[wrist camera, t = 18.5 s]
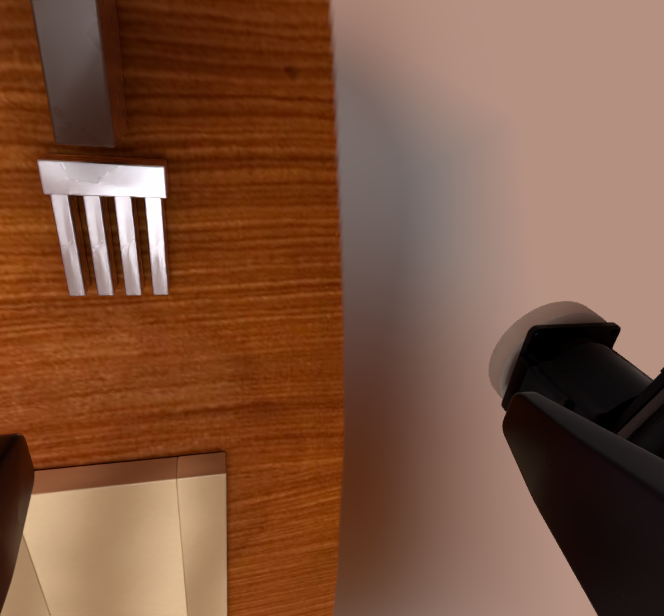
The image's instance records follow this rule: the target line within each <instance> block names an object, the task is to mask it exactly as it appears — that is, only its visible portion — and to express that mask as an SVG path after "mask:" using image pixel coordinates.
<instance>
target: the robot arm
mask: <svg viewBox="0 0 664 616" xmlns="http://www.w3.org/2000/svg"><path fill="white" fill-rule="evenodd" d="M620 330H621V327H620V326H618V325H617V324H616V323H614V322H603V323H576V324H549V325H535V326H533V327H531V328H530V329H529V330H528V332H527V335H526V337H525V340H524V343H523V345H522V348H521V351H520V354H519V356H518V359H517V362H516V365H515V367H514V370H513V373H512V375H511V378H510V381H509V384H508V386H507V389H506V392H505V395H504V397H503V400H502V403H501V406H502V408H503V409H504V410H505V411H506V415H505V417H504V420H503V425H502V427H503V433H504V436H505V438H506V440H507V442H508V445H509V447H510V449H511V451H512V454H513V456H514V458H515V460H516V463H517V465H518V467H519V469H520V471H521V474H522V476H523V478H524V481H525V483H526V485H527V487H528V489H529V491H530V494H531V496H532V498H533V500H534V502H535V504H536V506H537V508H538V509H539V511H540V513H541V515H542V517H543V519H544V520H545V522H546V524H547V526H548V527H549V529H550V531H551V533H552V535H553V536H554V538H555V540H556V542H557V544H558V545H559V547H560V549H561V550H562V552H563V554H564V556H565V558H566V559H567V561H568V563H569V565H570V567H571V569H572V570H573V572H574V574H575V576H576V577H577V579H578V581H579V583H580V585H581V586H582V588H583V590H584V592H585V593H586V595H587V597H588V599H589V601H590V602H591V604H592V606H593V608H594V609H595V611H596V613H597V615H598V616H664V368H663V369H662V370H661V373H660V375H658V376H657V377H656V378H655V379H654V380H653V379H651V378H650V377H648V376H647V375H646V374H645V373H643V372H642V371H641V370H639V369H638V368H637V367H636V366H634V365H633V364H632V363H630V362H629V361H628V360H626V359H625V358H624V357H623V356H621V355H620V354H619V353H617V352H616V351H615V350H613V349H612V348H613V346H614V344H615V342H616V340H617V337H618V335H619V333H620ZM34 478H35V472H34V467H33V463H32V460H31V456H30V453H29V450H28V446H27V443H26V440H25V438H24V436H23V435H22V434H19V433H13V434H1V435H0V615H1V612H2V609H3V606H4V603H5V600H6V597H7V594H8V591H9V588H10V585H11V581H12V578H13V574H14V570H15V566H16V562H17V557H18V553H19V548H20V544H21V539H22V535H23V530H24V526H25V521H26V517H27V512H28V508H29V503H30V499H31V494H32V490H33V485H34Z"/></svg>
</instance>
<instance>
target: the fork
mask: <svg viewBox="0 0 664 616" xmlns="http://www.w3.org/2000/svg"><path fill="white" fill-rule="evenodd" d="M30 3H31V9H32V14H33V20H34V26H35V31H36V37H37V43H38V48H39V54H40V59H41V65H42V71H43V76H44V82H45V88H46V93H47V99H48V105H49V110H50V116H51V122H52V127H53V133H54V139H55V142H56V143H57V144H61V145H78V146H95V147H112V148H113V147H115V146H116V145H117V144H118V142H119V141H120V140H121V139H122V137H123V136H124V135H125V134H126V132H127V131H128V129H129V126H128V116H127V107H126V97H125V87H124V77H123V67H122V58H121V48H120V38H119V28H118V18H117V8H116V0H30ZM37 166H38V171H39V176H40V181H41V186H42V191H43V194H45V195H50V199H51V204H52V209H53V214H54V219H55V225H56V230H57V235H58V240H59V245H60V251H61V256H62V261H63V266H64V271H65V276H66V282H67V287H68V292H69V295H70V296H86V294H87V292H88V290H89V288H90V285H91V282H90V276H89V269H88V263H87V257H86V251H85V245H84V239H83V233H82V227H81V221H80V215H79V209H78V203H77V197H76V196H82V198H83V204H84V210H85V217H86V223H87V229H88V235H89V242H90V248H91V254H92V261H93V267H94V273H95V280H96V286H97V292H98V295H99V296H113V295H114V294H115V291H116V288H117V286H118V279H117V272H116V264H115V257H114V249H113V242H112V234H111V227H110V219H109V212H108V204H107V197H114V204H115V212H116V220H117V228H118V236H119V244H120V252H121V260H122V268H123V276H124V284H125V292H126V295H127V296H133V295H142V293H143V289H144V285H145V282H144V272H143V263H142V253H141V243H140V233H139V223H138V213H137V204H136V198H144V202H145V213H146V224H147V235H148V245H149V256H150V267H151V278H152V288H153V295H169V290H170V271H169V257H168V244H167V230H166V216H165V202H164V199H167V198H168V194H169V179H168V164H167V160H164V159H145V158H127V157H108V156H90V155H71V154H53V153H45V154H43V155H42V156H41V157H39V158H38V159H37Z"/></svg>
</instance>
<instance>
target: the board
mask: <svg viewBox="0 0 664 616" xmlns="http://www.w3.org/2000/svg"><path fill="white" fill-rule="evenodd" d="M34 472H35V478H34V485H33V490H32V494H31V499H30V503H29V508H28V512H27V517H26V521H25V526H24V530H23V535H22V539H21V544H20V548H19V553H18V557H17V562H16V566H15V570H14V574H13V578H12V581H11V585H10V588H9V591H8V594H7V597H6V600H5V603H4V606H3V609H2V612H1V615H0V616H227V502H226V457H225V452H220V453H210V454H200V455H190V456H180V457H178V458H177V457H171V458H161V459H151V460H141V461H131V462H121V463H110V464H100V465H90V466H80V467H70V468H60V469H50V470H40V471H34Z"/></svg>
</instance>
